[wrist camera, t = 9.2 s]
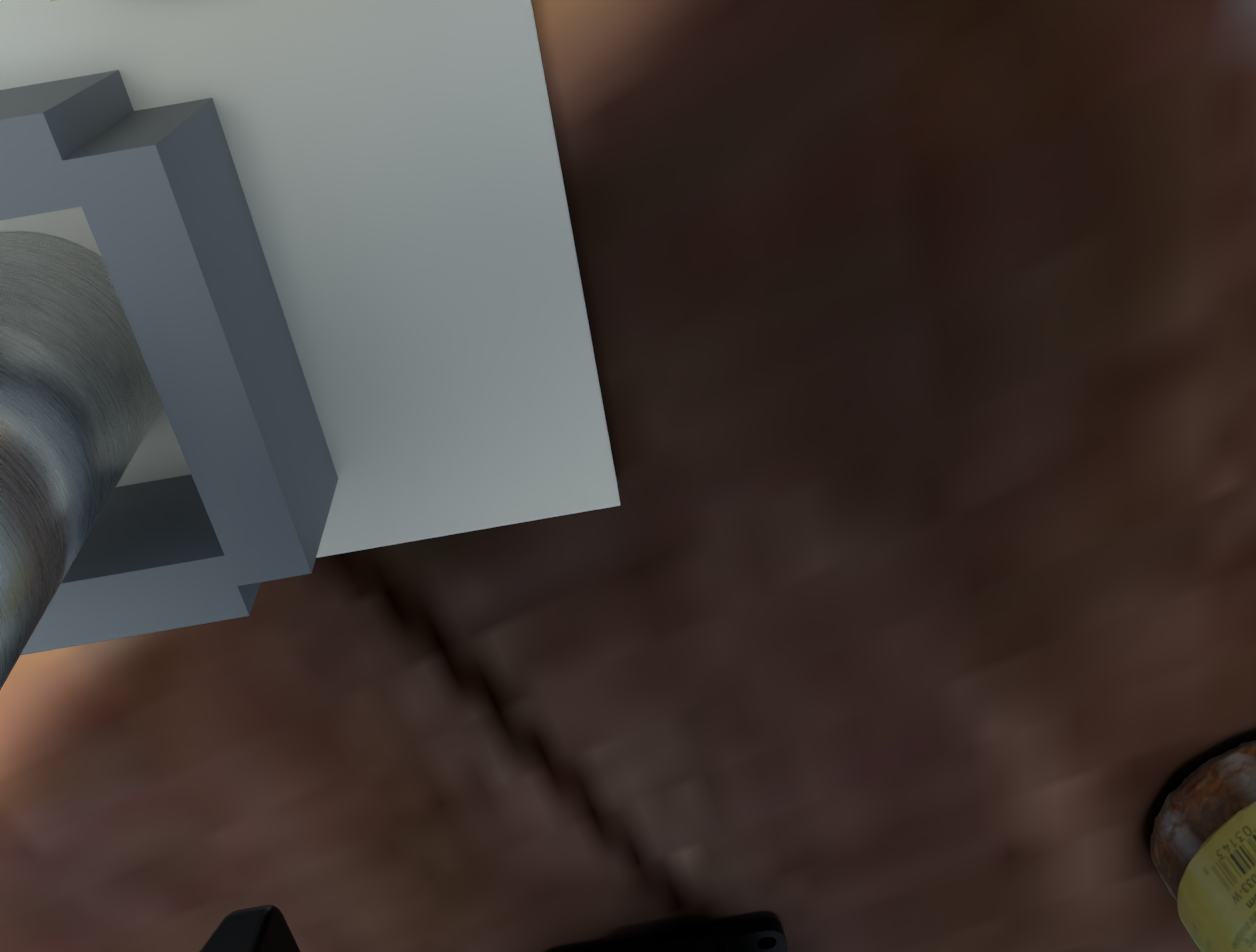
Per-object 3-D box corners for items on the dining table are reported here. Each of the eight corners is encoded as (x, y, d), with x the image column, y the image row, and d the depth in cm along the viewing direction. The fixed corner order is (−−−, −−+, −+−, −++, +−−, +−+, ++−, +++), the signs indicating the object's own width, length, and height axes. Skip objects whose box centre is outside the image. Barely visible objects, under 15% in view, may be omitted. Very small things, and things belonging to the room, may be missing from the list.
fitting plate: (616, 479, 22) (635, 599, 18) (-80, 599, 22) (-193, 742, 18) (421, -617, 13) (388, -777, 10) (-697, -428, 13) (-1115, -521, 10)
